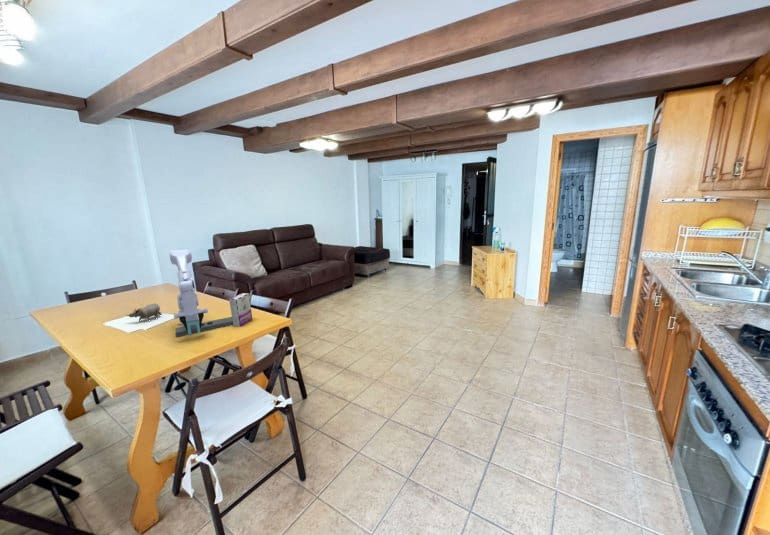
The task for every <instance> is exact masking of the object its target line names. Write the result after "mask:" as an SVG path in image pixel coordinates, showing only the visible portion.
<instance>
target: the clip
mask: <svg viewBox="0 0 770 535" xmlns="http://www.w3.org/2000/svg"><path fill="white" fill-rule="evenodd" d="M195 324H196V325H197V331H198V333H197V334H201V333H202V332H200V326H199V318H198V320H193V321H188V322H187V328H188V334H189V335H188V336H192V334H191V328H190V325H195Z"/></svg>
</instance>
